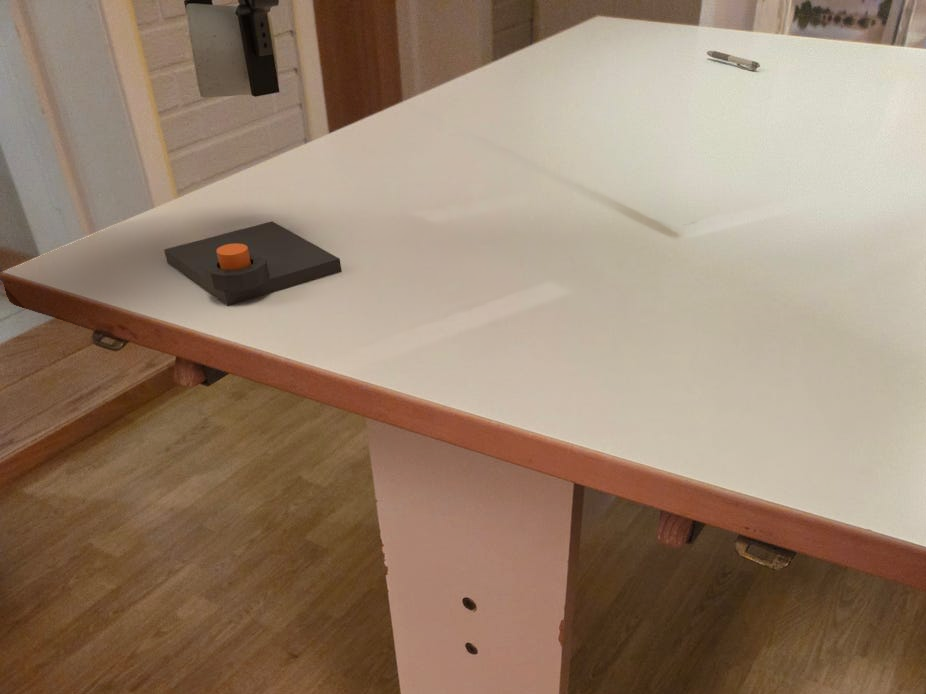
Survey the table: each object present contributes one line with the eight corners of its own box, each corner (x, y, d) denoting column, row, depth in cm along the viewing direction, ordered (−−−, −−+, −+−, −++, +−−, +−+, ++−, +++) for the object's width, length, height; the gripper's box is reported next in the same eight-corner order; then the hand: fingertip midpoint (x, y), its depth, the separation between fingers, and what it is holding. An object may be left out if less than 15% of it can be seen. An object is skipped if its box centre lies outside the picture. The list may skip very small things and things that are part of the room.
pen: (756, 72, 149) (757, 62, 148) (703, 58, 158) (704, 49, 157) (760, 71, 150) (762, 62, 149) (708, 58, 159) (709, 48, 158)
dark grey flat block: (163, 263, 94) (155, 234, 92) (274, 233, 99) (269, 205, 97) (227, 311, 84) (220, 280, 82) (346, 274, 90) (342, 245, 88)
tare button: (215, 266, 86) (211, 248, 85) (243, 259, 87) (239, 240, 86) (228, 275, 84) (224, 257, 83) (256, 267, 85) (252, 249, 84)
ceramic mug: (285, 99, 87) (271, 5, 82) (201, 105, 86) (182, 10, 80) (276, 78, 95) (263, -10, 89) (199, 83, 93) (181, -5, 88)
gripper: (90, -211, 79) (157, 71, 94) (203, -219, 66) (259, 111, 81) (167, -212, 82) (220, 60, 98) (290, -220, 69) (329, 97, 84)
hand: (238, 83), depth 89 cm, fingers closed on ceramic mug, 11 cm apart
